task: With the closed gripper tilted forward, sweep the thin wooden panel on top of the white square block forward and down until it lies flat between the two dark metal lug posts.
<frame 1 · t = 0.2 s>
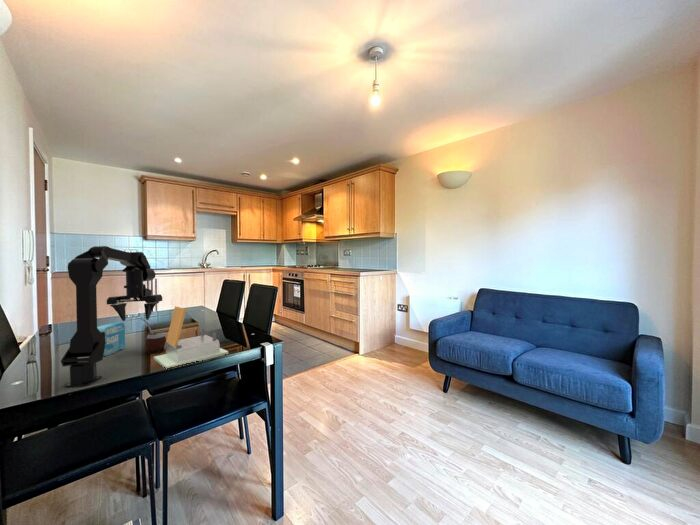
hand: (135, 320, 121), 14 cm above the table, tool pointing down, fingers open, 9 cm apart
mate gourd: (155, 352, 124), on the table
board: (171, 361, 112), on the table
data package: (110, 352, 126), on the table
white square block: (192, 343, 117), on the board, point 5 cm above the table
thin wooden panel: (176, 325, 113), point 13 cm above the table, hinge at 75.0°
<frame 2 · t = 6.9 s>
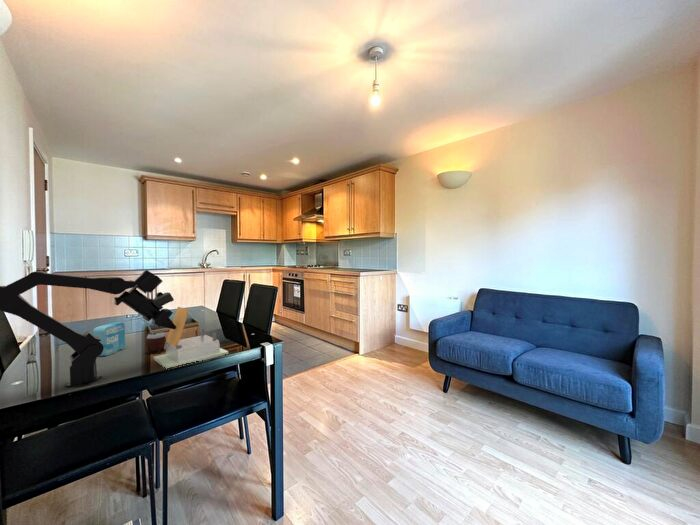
hand: (175, 328, 113), 12 cm above the table, tool tilted 45°, fingers closed, pressing on thin wooden panel
thin wooden panel: (177, 326, 114), point 13 cm above the table, hinge at 70.7°, touching gripper
everything else where it was.
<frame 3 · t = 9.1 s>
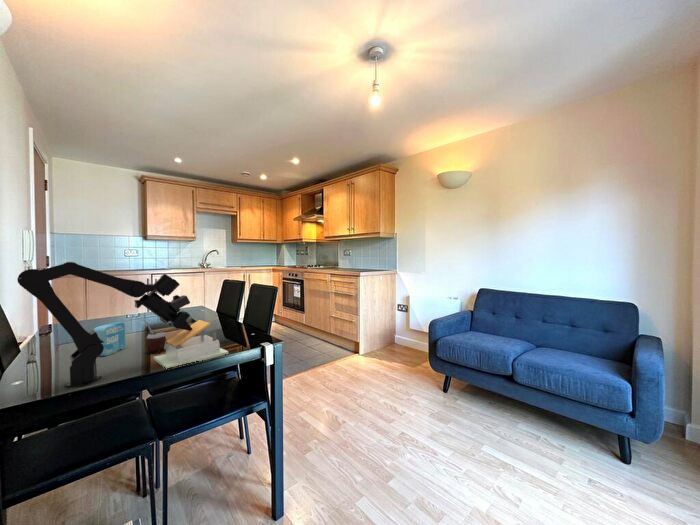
hand: (191, 329, 117), 11 cm above the table, tool tilted 45°, fingers closed, pressing on thin wooden panel
thin wooden panel: (188, 332, 116), point 10 cm above the table, hinge at 26.8°, touching gripper
everything else where it was.
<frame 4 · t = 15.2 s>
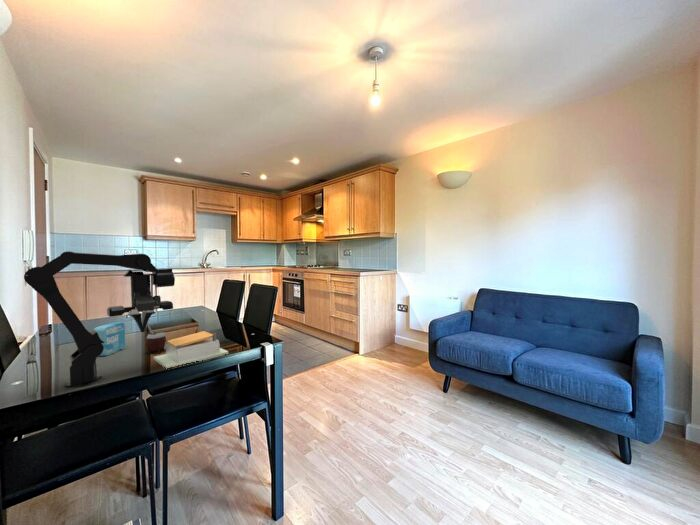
hand: (142, 332, 105), 13 cm above the table, tool pointing down, fingers closed
thin wooden panel: (191, 338, 117), point 7 cm above the table, hinge at 4.8°
everything else where it was.
at the end: thin wooden panel at +5° (first picture: +75°) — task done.
